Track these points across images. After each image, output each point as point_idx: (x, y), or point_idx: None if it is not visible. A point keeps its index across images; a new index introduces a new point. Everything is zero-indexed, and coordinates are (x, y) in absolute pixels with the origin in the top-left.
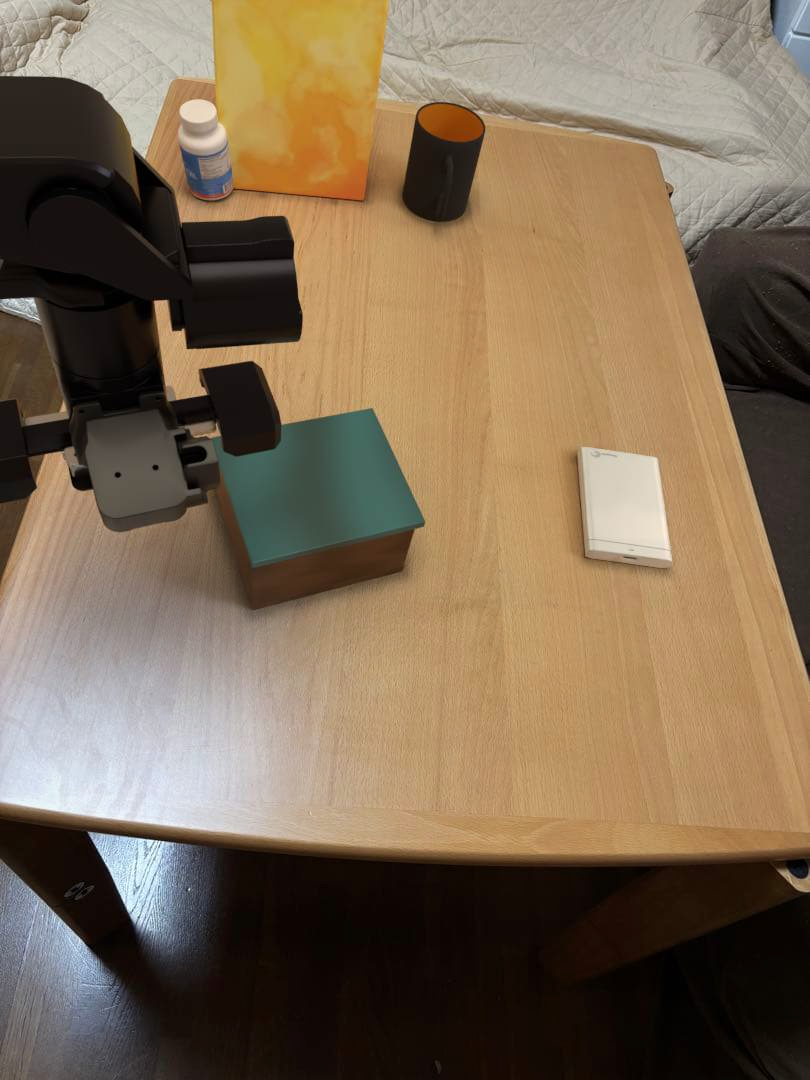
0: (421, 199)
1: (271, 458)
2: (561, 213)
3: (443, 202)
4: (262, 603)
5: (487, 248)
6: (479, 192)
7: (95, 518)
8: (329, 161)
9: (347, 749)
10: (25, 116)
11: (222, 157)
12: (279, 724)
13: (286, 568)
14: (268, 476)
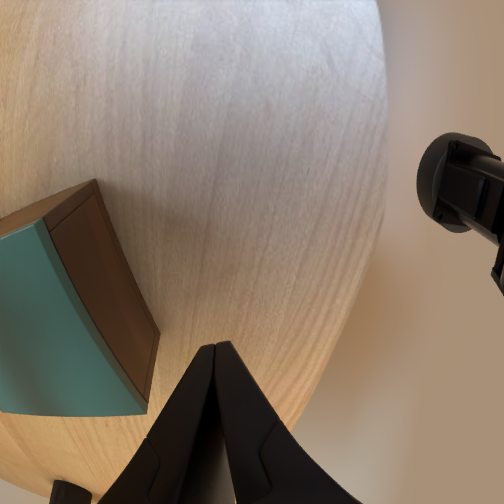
0: (75, 495)
1: (63, 385)
2: (9, 467)
3: (56, 497)
4: (79, 185)
5: (31, 464)
6: (52, 485)
7: (292, 303)
8: None
9: (11, 20)
10: None
11: None
12: (68, 30)
13: (16, 223)
14: (57, 364)
